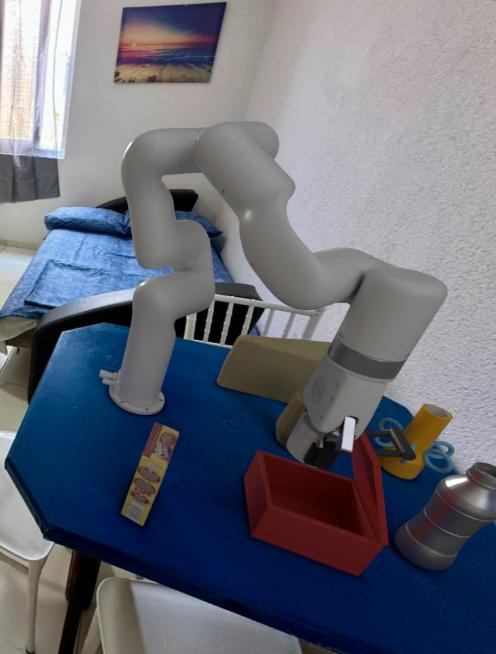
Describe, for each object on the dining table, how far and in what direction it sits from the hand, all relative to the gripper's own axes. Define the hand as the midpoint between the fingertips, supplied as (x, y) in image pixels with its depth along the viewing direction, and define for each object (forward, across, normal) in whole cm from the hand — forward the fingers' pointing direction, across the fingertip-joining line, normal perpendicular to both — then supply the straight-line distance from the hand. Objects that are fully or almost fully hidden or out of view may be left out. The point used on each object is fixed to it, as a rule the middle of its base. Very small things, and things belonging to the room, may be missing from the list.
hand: (310, 449), depth 64 cm
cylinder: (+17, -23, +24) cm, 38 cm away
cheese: (+16, -37, +3) cm, 41 cm away
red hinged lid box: (+16, 0, +3) cm, 17 cm away
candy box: (+17, +8, -22) cm, 28 cm away
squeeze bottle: (+17, -21, +6) cm, 28 cm away
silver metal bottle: (+17, -2, +20) cm, 26 cm away
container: (+1, 0, 0) cm, 1 cm away
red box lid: (+1, 0, +7) cm, 7 cm away
